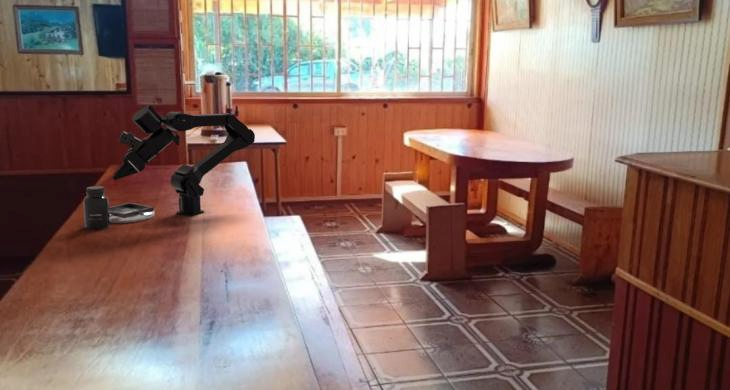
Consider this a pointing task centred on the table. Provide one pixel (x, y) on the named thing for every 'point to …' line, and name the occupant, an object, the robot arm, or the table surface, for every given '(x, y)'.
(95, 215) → the supplement bottle
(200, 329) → the table surface
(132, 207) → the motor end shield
